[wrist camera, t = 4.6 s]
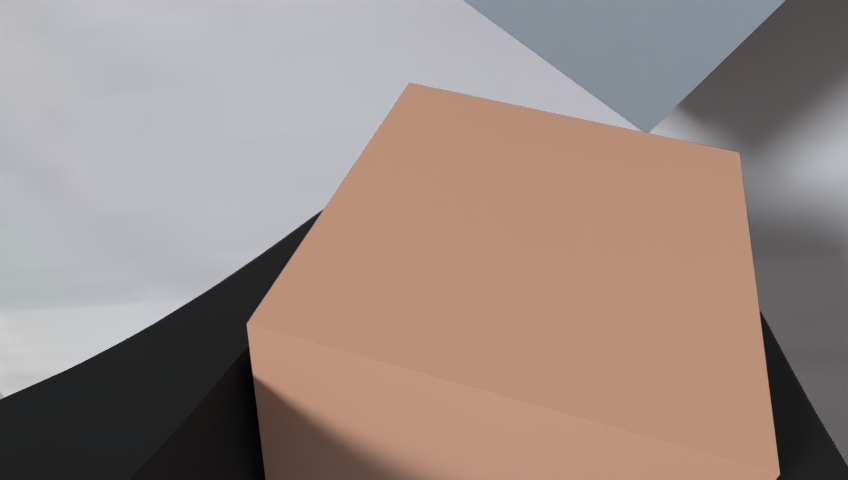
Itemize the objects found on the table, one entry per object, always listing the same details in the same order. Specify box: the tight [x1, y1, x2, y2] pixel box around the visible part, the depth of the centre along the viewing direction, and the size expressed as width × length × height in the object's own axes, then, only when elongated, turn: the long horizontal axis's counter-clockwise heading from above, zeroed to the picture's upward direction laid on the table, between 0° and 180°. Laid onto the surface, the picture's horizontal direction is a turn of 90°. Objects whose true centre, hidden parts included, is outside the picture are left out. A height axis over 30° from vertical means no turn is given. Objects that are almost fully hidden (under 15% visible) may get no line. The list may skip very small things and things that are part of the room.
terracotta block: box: [247, 83, 780, 480], centre depth 9 cm, size 5×5×5 cm
